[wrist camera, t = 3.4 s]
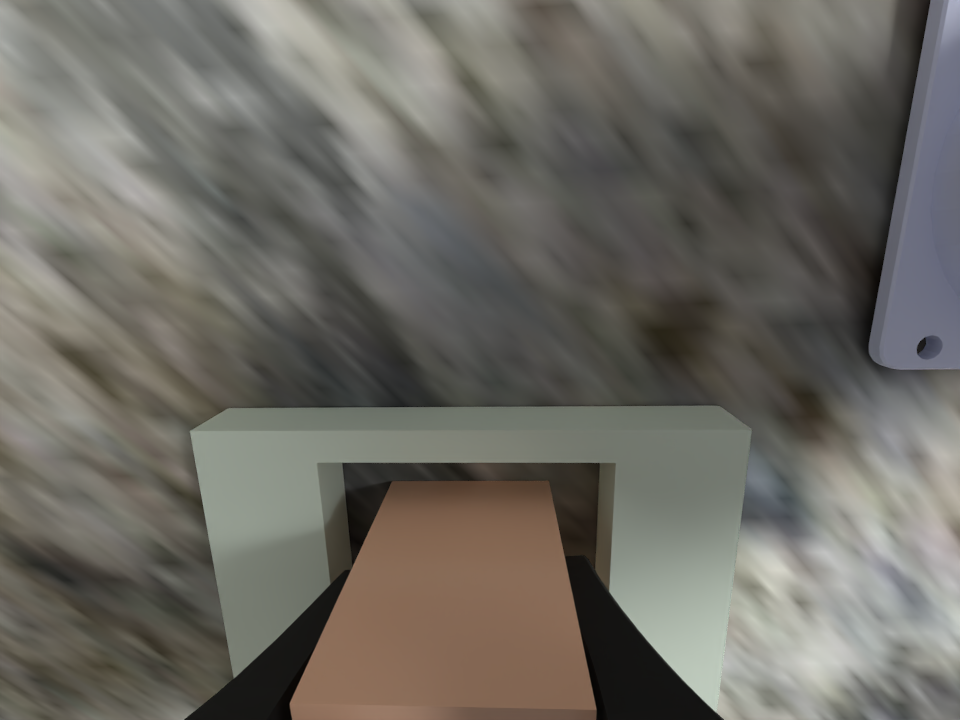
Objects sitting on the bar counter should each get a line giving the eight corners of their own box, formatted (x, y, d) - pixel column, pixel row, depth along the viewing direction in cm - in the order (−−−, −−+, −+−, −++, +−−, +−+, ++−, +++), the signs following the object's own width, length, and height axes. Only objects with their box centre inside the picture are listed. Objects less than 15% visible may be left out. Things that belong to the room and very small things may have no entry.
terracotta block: (548, 480, 12) (596, 710, 6) (547, 614, 13) (587, 925, 7) (392, 481, 12) (289, 703, 6) (402, 612, 13) (321, 914, 7)
